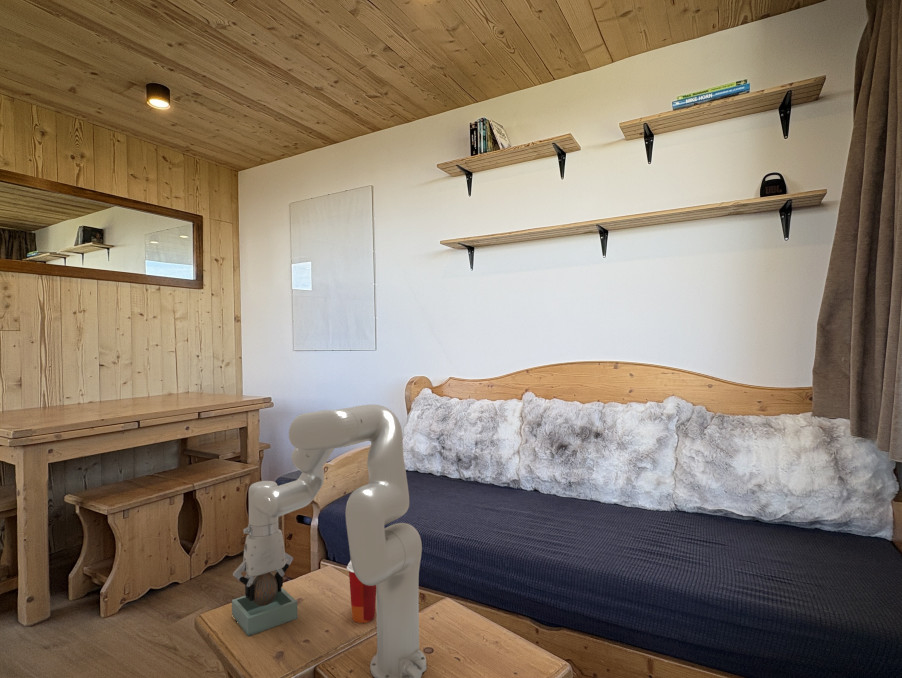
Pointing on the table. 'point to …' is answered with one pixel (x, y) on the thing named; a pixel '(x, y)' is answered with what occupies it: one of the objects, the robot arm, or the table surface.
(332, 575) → the table surface
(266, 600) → the vase
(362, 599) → the coffee cup
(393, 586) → the robot arm
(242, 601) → the bin
